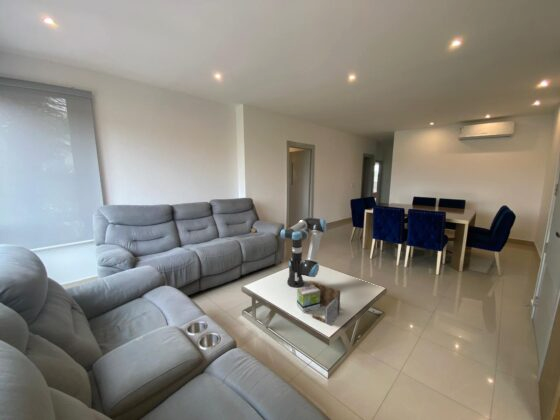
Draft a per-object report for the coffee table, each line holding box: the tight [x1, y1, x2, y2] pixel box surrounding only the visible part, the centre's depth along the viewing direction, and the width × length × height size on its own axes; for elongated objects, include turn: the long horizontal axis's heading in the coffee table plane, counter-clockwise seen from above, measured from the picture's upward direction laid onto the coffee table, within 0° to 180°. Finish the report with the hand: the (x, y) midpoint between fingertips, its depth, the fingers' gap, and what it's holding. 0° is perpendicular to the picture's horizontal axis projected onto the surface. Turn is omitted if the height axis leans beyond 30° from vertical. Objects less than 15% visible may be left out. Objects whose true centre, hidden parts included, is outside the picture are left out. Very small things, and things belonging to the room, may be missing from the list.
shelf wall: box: [308, 280, 341, 324], centre depth 170 cm, size 26×19×16 cm
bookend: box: [324, 296, 342, 326], centre depth 162 cm, size 4×18×12 cm, turn 141°
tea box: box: [296, 285, 321, 313], centre depth 175 cm, size 15×10×15 cm, turn 114°
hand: (296, 280), depth 180 cm, fingers closed
